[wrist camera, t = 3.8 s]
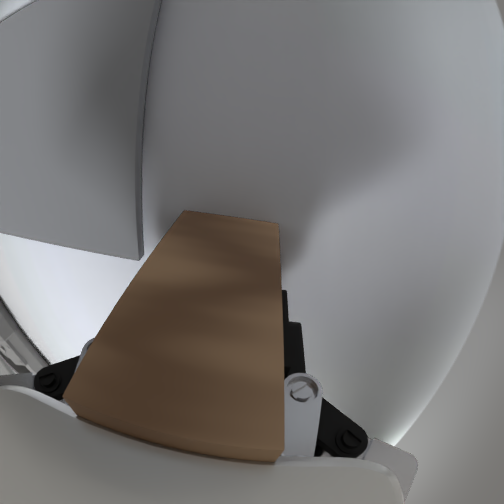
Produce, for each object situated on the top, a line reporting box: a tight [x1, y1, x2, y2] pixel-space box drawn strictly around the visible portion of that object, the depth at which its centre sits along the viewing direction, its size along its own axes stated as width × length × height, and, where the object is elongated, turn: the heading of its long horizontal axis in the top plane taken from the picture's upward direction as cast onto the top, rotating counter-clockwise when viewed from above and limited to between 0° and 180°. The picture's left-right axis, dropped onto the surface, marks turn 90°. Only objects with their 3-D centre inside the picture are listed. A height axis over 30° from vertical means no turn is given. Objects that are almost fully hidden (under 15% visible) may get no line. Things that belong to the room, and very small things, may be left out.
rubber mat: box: [0, 0, 162, 261], centre depth 9 cm, size 18×14×1 cm
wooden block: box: [62, 210, 285, 462], centre depth 9 cm, size 4×7×9 cm, turn 173°
